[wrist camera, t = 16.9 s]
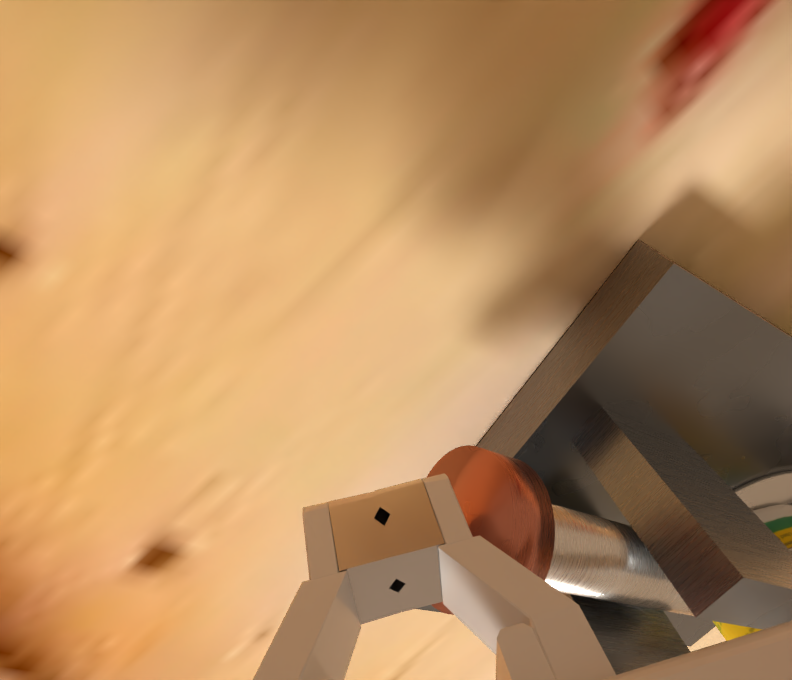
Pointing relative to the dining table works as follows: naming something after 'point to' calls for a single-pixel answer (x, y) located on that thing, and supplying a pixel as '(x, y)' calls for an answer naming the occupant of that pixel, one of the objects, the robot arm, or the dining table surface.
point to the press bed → (667, 448)
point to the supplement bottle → (788, 527)
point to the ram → (553, 533)
